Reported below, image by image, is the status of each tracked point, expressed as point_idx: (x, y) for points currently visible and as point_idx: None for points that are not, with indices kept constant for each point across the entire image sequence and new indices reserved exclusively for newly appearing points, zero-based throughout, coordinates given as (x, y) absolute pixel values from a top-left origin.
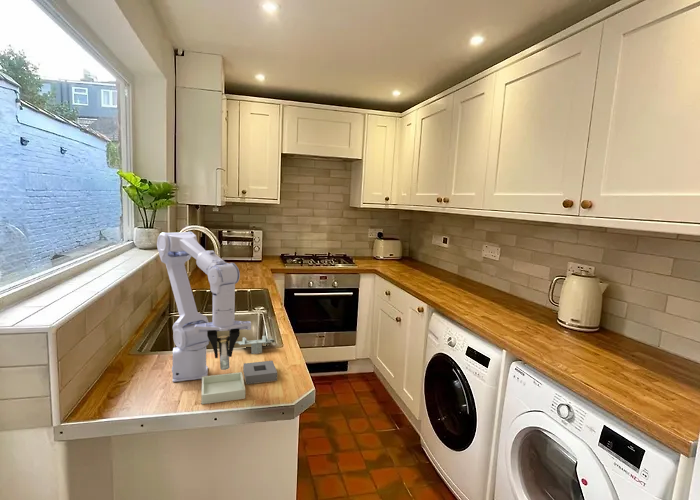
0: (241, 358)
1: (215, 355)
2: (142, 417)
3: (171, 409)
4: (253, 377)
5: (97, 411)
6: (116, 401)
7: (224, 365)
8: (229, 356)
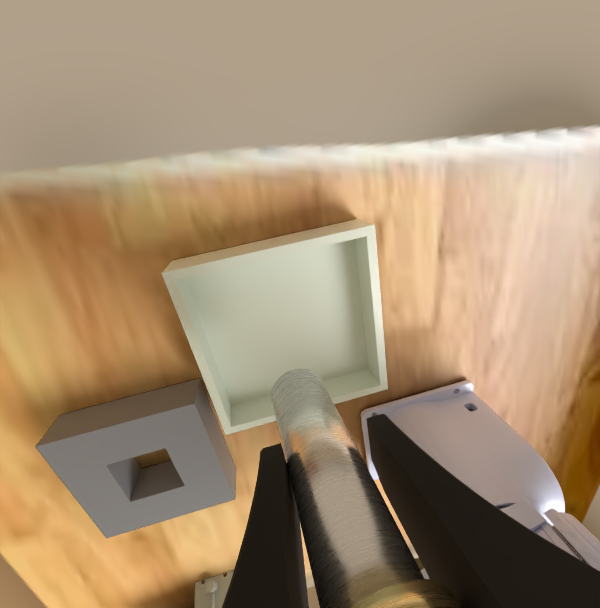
0: None
1: (395, 428)
2: (559, 132)
3: (465, 186)
4: (162, 405)
5: None
6: None
7: (302, 386)
8: (277, 447)
